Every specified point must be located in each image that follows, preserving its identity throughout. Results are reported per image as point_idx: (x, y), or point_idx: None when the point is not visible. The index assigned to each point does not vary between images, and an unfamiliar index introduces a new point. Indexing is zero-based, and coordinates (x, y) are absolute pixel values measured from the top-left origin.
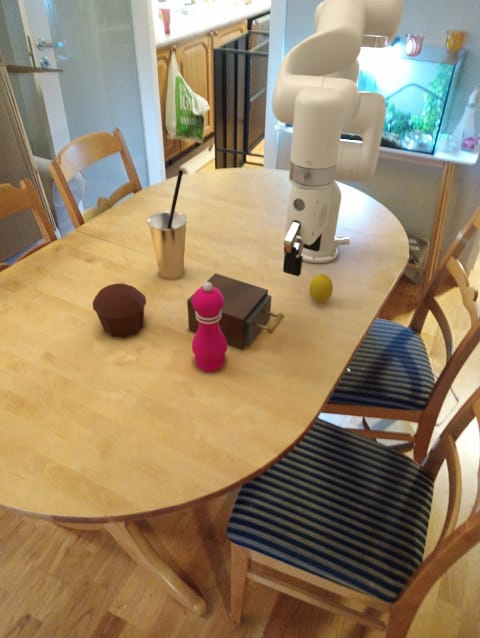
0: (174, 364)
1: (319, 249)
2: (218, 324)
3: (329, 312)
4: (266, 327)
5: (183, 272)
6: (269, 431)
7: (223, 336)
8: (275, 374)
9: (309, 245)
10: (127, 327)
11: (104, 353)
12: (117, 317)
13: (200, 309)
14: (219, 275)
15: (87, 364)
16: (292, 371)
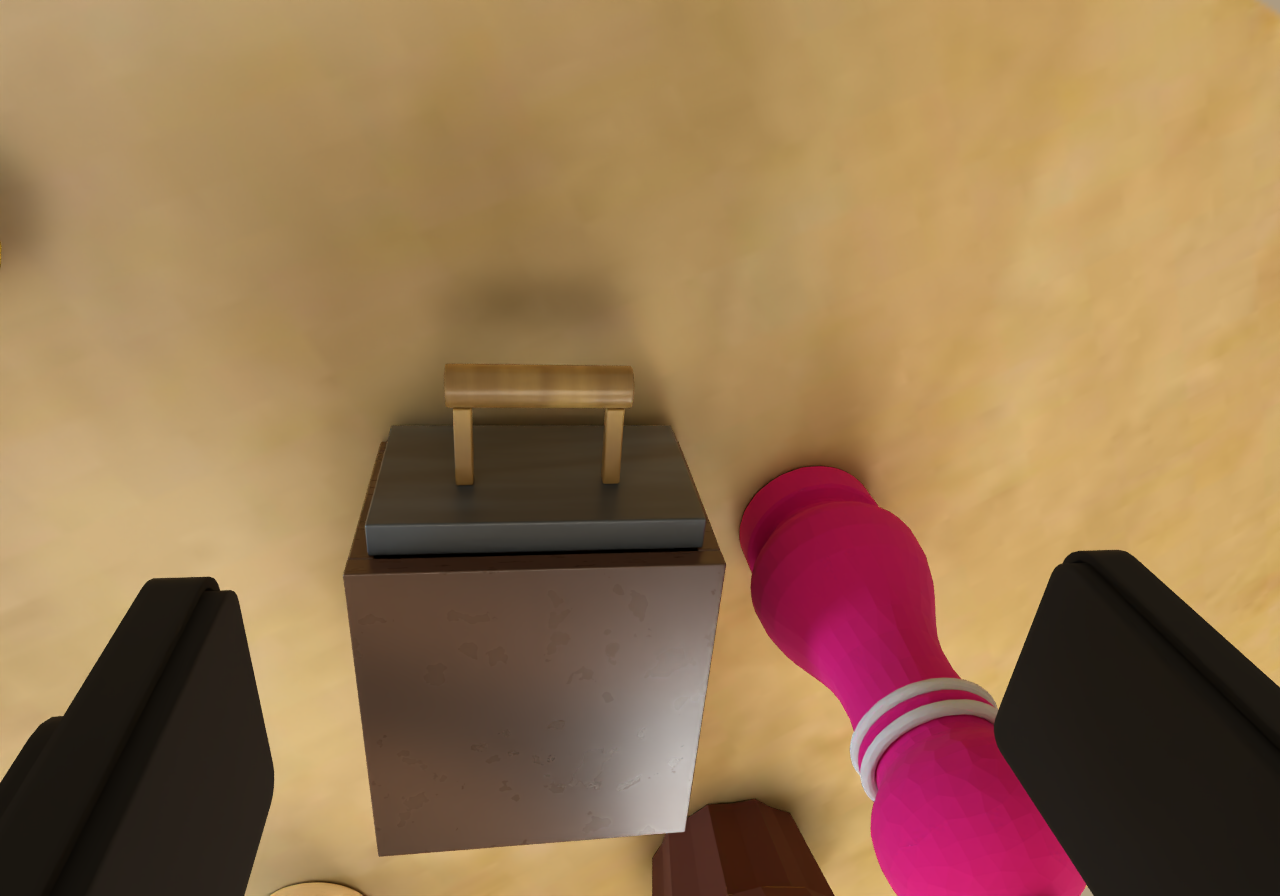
0: None
1: (149, 582)
2: (902, 653)
3: (14, 94)
4: (617, 417)
5: (284, 890)
6: (1157, 99)
7: (843, 574)
8: (783, 220)
9: (235, 775)
10: (794, 849)
11: None
12: None
13: None
14: (386, 834)
15: None
16: (728, 138)
